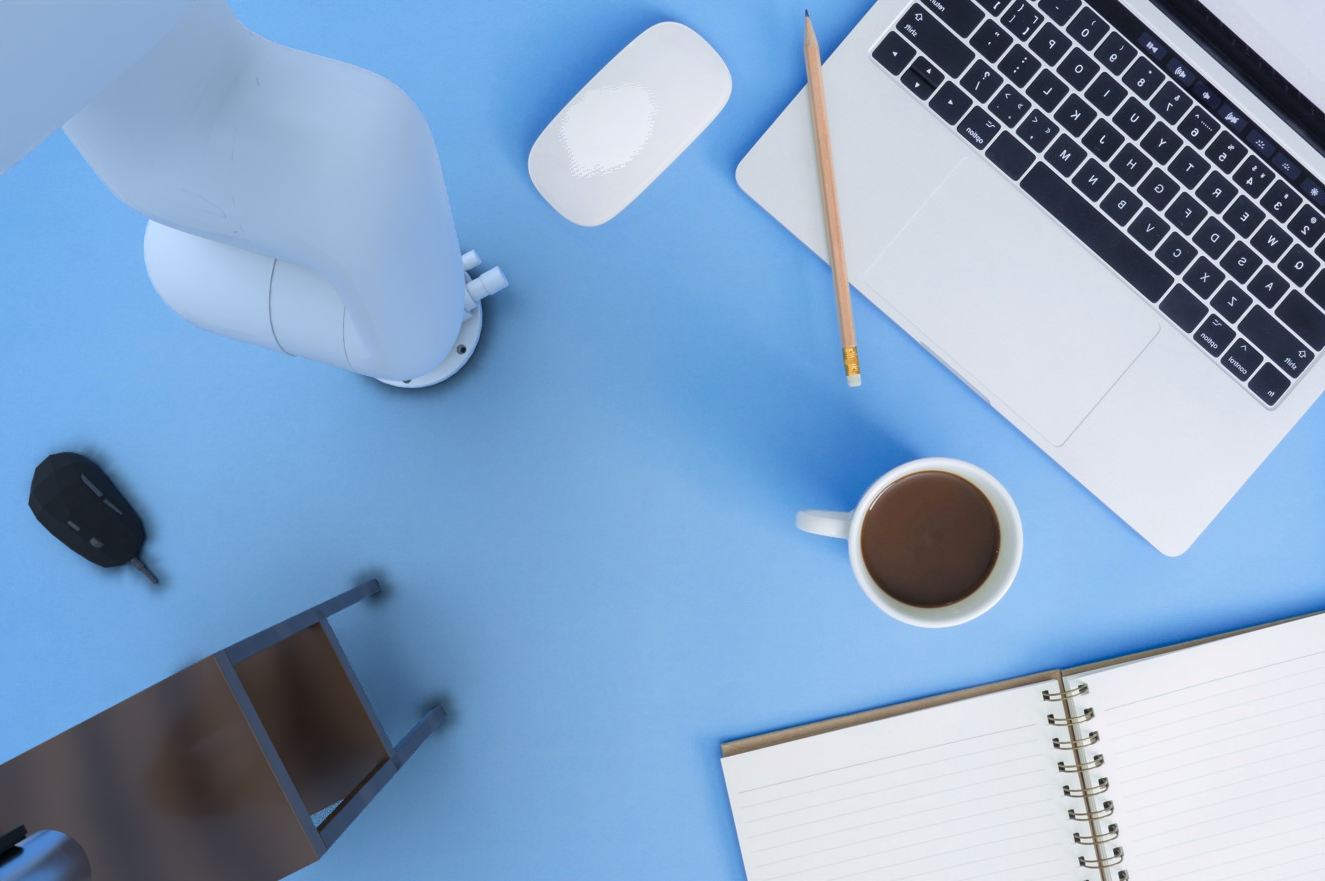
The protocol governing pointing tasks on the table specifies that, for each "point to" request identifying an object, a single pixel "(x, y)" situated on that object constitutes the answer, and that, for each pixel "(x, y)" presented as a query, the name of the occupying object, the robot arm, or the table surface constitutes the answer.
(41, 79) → the robot arm
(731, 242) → the table surface
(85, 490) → the gaming mouse
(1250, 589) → the table surface
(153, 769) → the top shelf
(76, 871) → the steel tin
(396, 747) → the rack frame
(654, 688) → the table surface
